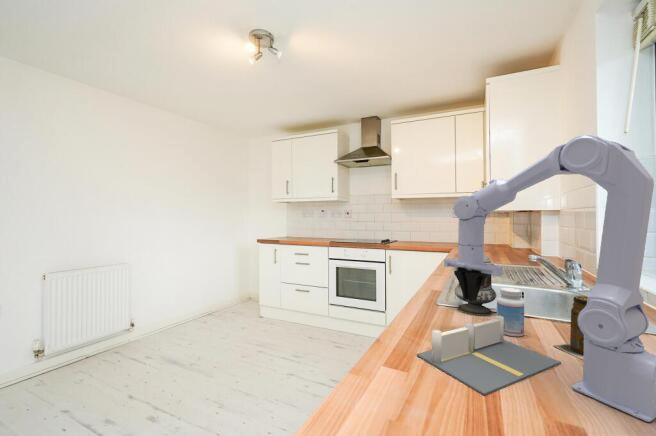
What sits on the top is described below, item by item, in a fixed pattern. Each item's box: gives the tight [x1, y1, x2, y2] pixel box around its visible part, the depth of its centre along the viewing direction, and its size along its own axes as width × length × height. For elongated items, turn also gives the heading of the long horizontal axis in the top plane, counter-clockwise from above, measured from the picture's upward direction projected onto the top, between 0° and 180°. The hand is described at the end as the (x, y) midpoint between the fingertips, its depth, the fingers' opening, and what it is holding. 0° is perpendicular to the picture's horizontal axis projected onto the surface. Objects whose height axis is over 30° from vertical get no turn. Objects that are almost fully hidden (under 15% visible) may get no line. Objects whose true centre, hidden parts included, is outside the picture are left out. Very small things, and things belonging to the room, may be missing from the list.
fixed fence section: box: [431, 321, 475, 363], centre depth 62 cm, size 12×2×6 cm, turn 117°
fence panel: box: [473, 315, 504, 349], centre depth 67 cm, size 10×2×6 cm, turn 117°
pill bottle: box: [496, 287, 525, 337], centre depth 76 cm, size 6×6×11 cm
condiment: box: [552, 295, 588, 361], centre depth 65 cm, size 7×8×12 cm
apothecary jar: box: [454, 254, 497, 316], centre depth 94 cm, size 12×12×18 cm
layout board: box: [416, 339, 562, 396], centre depth 61 cm, size 16×24×1 cm, turn 117°
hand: (470, 299), depth 72 cm, fingers closed
